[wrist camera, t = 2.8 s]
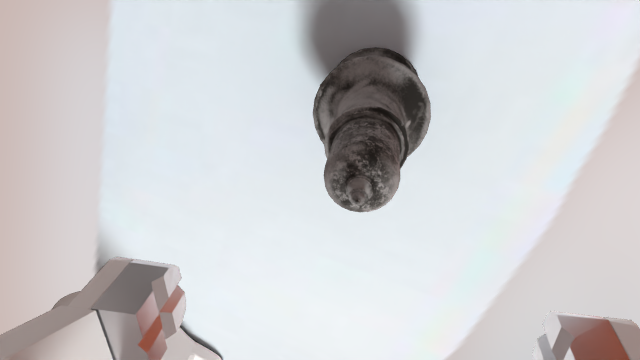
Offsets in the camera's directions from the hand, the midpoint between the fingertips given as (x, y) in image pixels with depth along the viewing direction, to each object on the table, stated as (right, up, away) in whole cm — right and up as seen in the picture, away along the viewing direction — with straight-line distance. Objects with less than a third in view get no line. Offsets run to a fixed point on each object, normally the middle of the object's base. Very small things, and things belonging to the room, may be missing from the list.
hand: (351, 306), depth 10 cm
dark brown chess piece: (+2, +8, +15) cm, 17 cm away
